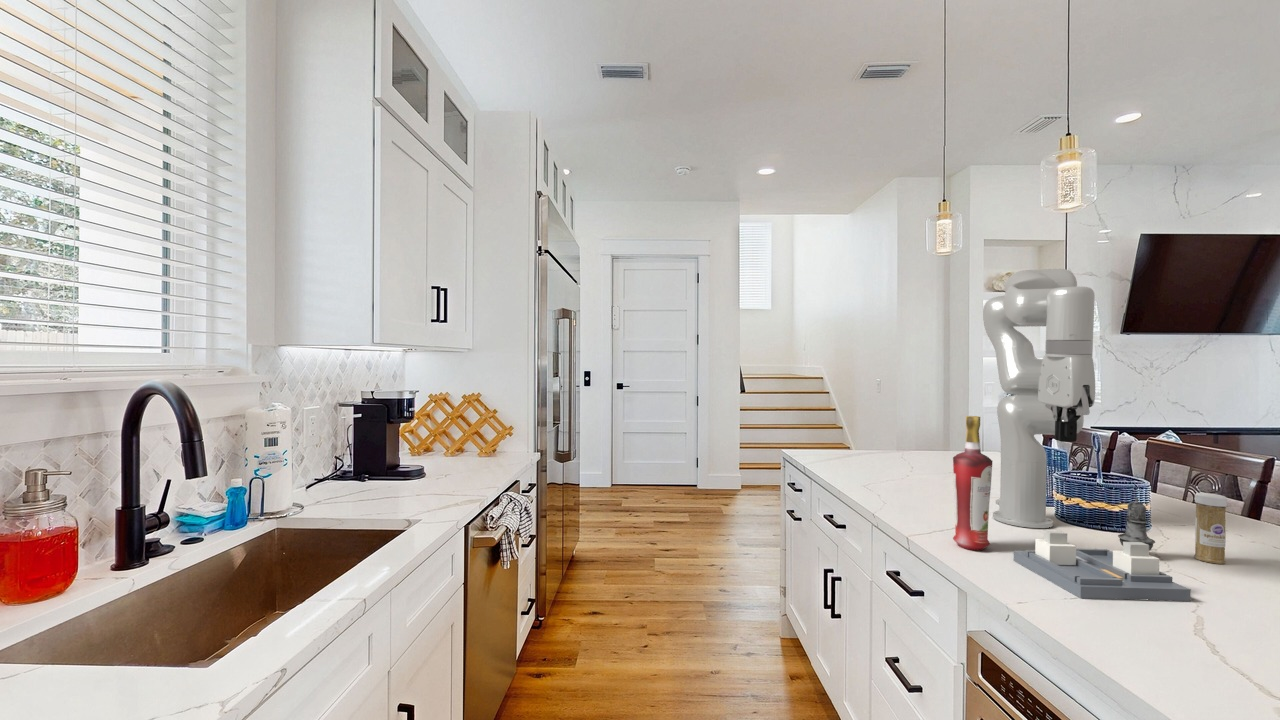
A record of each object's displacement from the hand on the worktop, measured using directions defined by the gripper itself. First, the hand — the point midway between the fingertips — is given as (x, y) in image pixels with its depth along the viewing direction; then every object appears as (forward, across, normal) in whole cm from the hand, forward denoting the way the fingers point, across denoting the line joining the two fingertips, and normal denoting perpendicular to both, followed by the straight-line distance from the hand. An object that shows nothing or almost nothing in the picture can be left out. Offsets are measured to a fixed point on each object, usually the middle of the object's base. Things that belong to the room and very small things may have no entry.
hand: (1065, 440), depth 114 cm
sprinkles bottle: (+25, -2, +30) cm, 39 cm away
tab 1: (+22, +8, -6) cm, 24 cm away
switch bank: (+24, +11, -1) cm, 26 cm away
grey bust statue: (+25, -4, +18) cm, 31 cm away
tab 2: (+21, +13, +4) cm, 26 cm away
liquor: (+24, -6, -15) cm, 29 cm away
